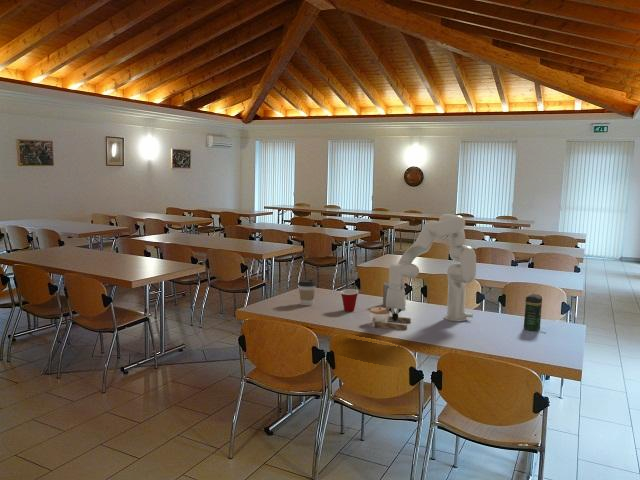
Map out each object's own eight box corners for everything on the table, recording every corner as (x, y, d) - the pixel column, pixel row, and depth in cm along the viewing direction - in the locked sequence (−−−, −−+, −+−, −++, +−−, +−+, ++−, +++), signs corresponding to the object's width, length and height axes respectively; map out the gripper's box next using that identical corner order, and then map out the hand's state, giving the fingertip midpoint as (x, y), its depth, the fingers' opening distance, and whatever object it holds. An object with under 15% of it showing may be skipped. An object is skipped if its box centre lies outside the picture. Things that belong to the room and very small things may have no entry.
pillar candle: (387, 302, 350) (388, 279, 348) (401, 305, 344) (402, 281, 342) (379, 305, 342) (380, 281, 340) (393, 308, 336) (394, 283, 334)
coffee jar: (537, 332, 289) (540, 297, 287) (522, 329, 294) (524, 295, 291) (541, 328, 297) (544, 294, 295) (526, 325, 302) (528, 292, 299)
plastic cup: (336, 310, 328) (336, 290, 326) (347, 307, 336) (348, 288, 334) (350, 314, 320) (350, 293, 319) (361, 310, 328) (362, 290, 327)
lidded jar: (393, 324, 301) (394, 307, 300) (380, 327, 294) (380, 310, 292) (378, 319, 309) (379, 303, 308) (365, 323, 302) (365, 306, 300)
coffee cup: (316, 307, 336) (316, 282, 334) (297, 306, 336) (297, 282, 334) (316, 302, 347) (316, 279, 345) (298, 302, 347) (298, 278, 346)
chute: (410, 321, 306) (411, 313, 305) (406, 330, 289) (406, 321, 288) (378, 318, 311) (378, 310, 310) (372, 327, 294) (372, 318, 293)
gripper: (411, 286, 298) (409, 320, 301) (383, 284, 302) (382, 317, 305) (409, 289, 291) (408, 323, 293) (380, 287, 295) (380, 321, 298)
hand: (395, 320), depth 299 cm, fingers closed
